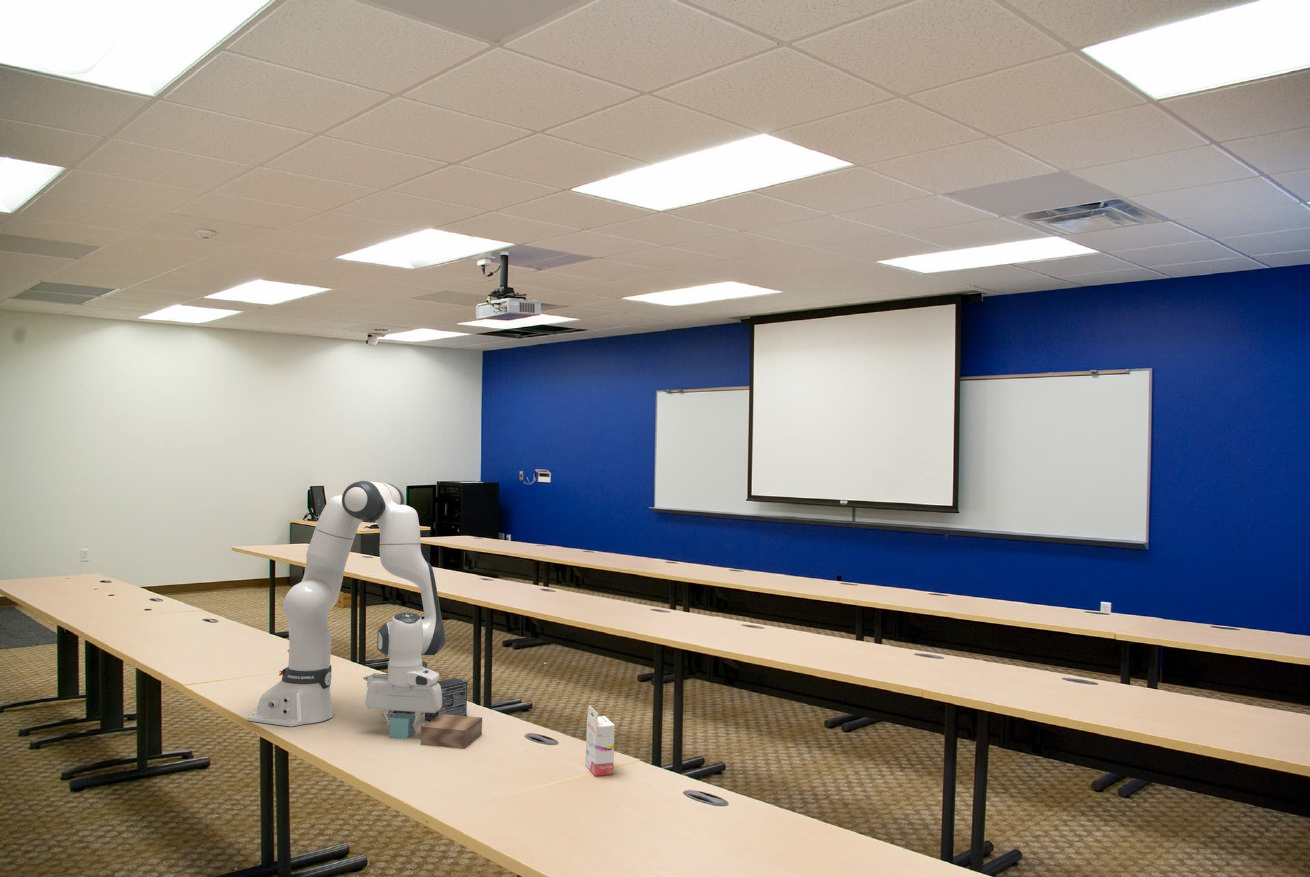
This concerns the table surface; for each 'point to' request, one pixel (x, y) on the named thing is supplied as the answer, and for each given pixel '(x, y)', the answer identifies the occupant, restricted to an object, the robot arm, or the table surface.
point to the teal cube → (401, 725)
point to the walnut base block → (451, 731)
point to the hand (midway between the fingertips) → (402, 727)
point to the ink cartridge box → (599, 744)
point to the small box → (451, 698)
